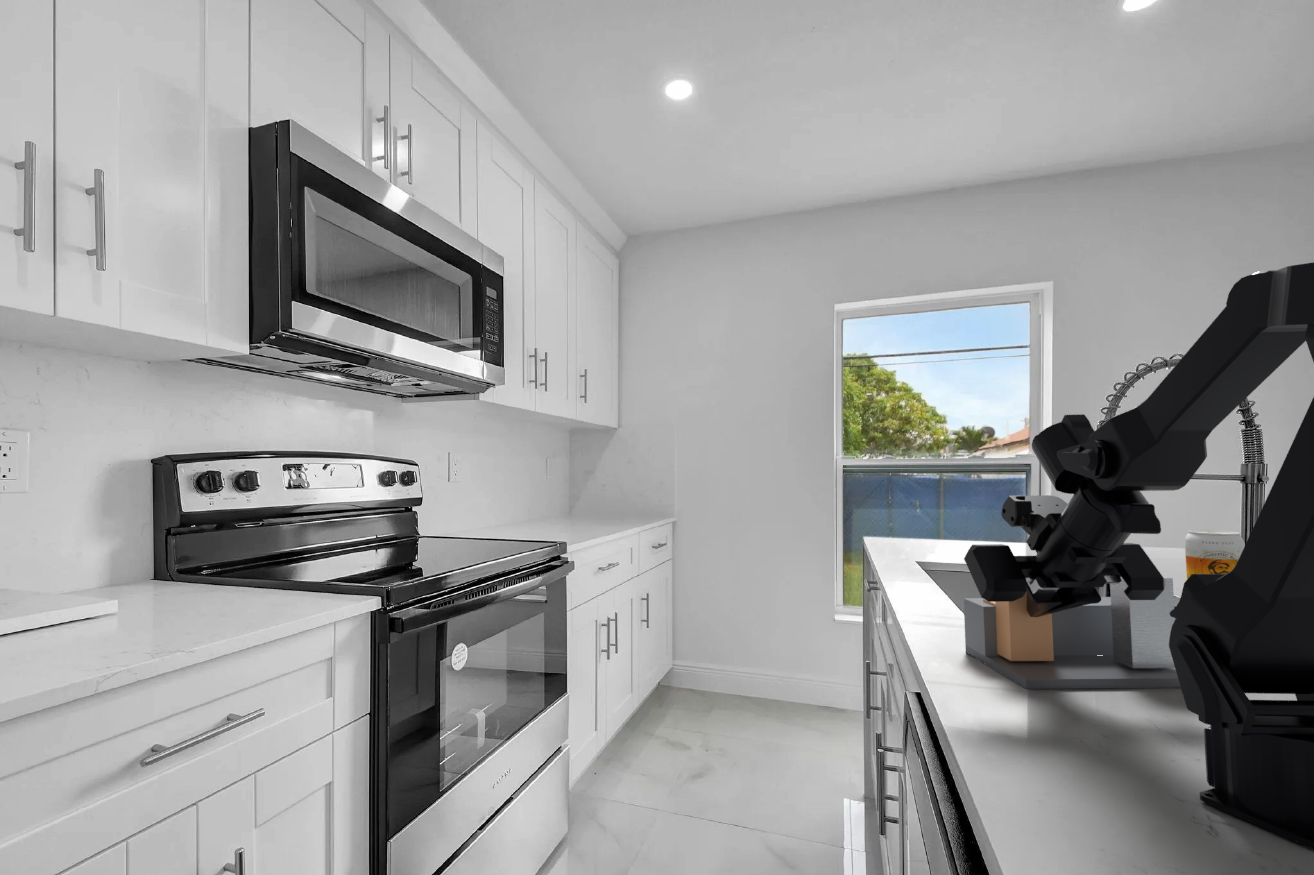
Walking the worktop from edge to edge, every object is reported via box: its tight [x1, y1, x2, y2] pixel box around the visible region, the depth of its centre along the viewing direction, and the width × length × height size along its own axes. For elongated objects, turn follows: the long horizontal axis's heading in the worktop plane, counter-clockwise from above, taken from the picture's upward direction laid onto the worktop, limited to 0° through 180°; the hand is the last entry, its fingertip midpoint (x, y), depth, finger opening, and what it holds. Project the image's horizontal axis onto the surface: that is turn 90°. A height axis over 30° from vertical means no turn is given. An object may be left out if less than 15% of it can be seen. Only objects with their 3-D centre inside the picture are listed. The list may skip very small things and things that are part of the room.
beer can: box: [1184, 529, 1246, 580], centre depth 85 cm, size 6×6×15 cm
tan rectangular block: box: [995, 592, 1054, 661], centre depth 75 cm, size 3×5×10 cm, turn 90°
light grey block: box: [1109, 575, 1176, 668], centre depth 72 cm, size 3×5×10 cm, turn 89°
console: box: [963, 596, 1181, 690], centre depth 75 cm, size 14×20×7 cm
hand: (1031, 613), depth 73 cm, fingers closed, pressing on tan rectangular block
